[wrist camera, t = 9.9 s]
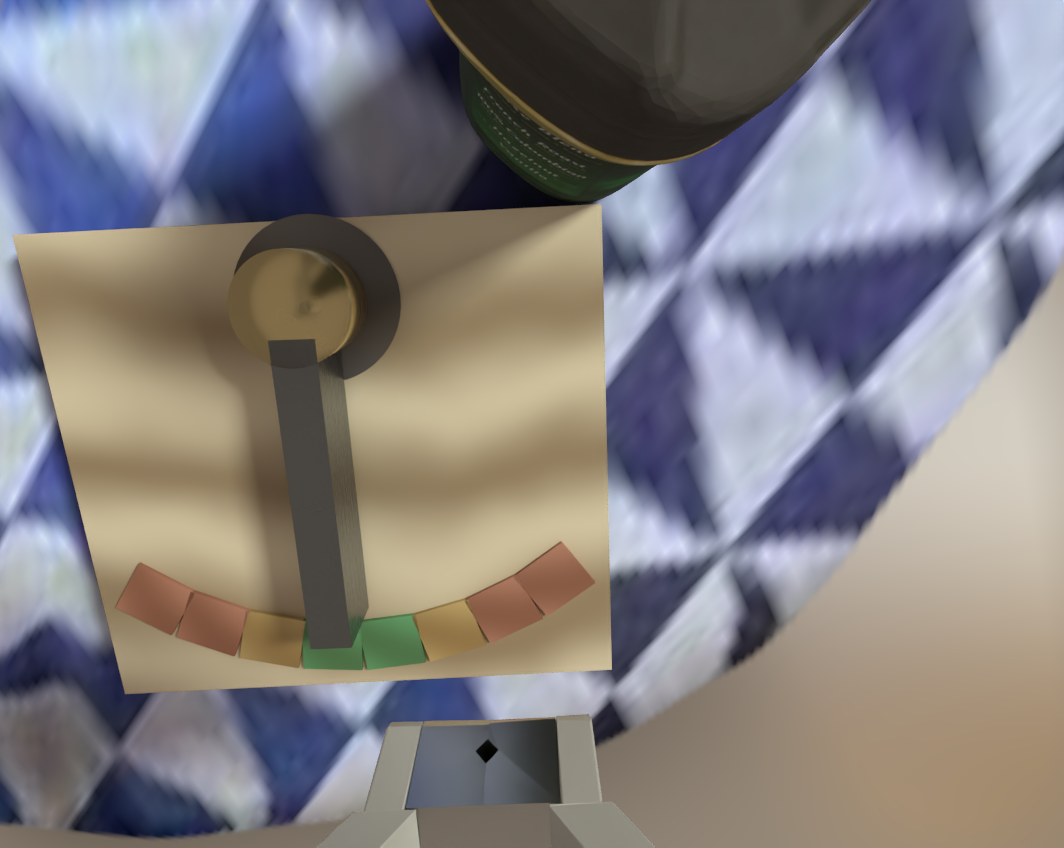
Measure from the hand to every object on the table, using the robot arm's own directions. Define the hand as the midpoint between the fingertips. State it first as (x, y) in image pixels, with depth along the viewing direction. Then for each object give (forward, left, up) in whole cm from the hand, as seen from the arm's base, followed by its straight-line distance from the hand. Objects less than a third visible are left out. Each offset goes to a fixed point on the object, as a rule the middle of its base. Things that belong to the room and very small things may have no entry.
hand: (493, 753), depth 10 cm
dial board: (+2, -7, -20) cm, 21 cm away
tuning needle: (0, -7, -18) cm, 19 cm away
